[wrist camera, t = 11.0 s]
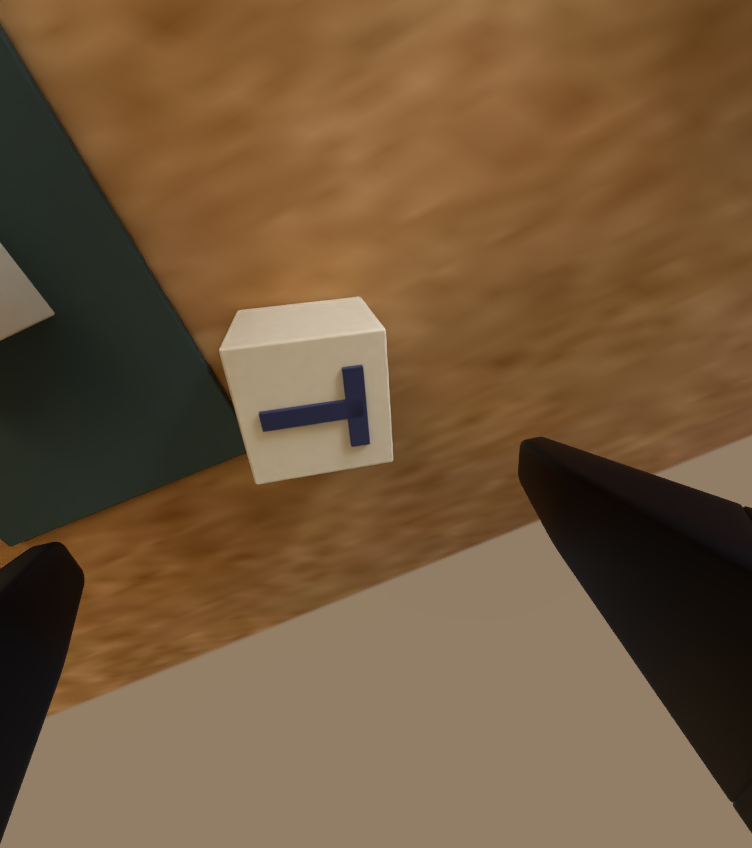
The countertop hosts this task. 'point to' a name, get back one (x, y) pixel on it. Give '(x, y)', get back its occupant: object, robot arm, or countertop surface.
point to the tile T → (309, 387)
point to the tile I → (18, 299)
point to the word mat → (88, 342)
